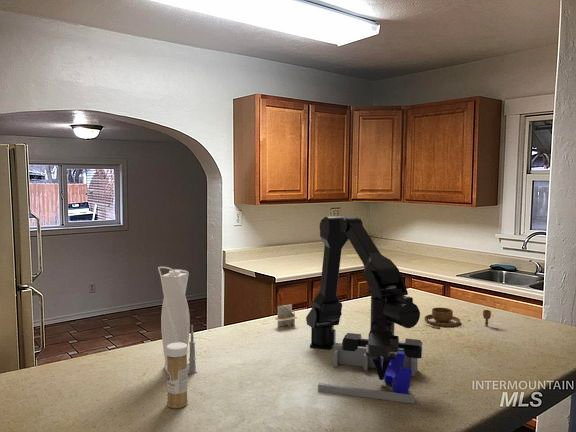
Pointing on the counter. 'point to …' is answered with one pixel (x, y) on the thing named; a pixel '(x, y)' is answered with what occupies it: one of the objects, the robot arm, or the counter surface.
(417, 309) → the robot arm
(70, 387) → the counter surface
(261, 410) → the counter surface
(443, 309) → the place setting
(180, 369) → the sprinkles bottle
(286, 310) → the architectural model
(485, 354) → the counter surface
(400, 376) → the cable clip
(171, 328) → the skyscraper
